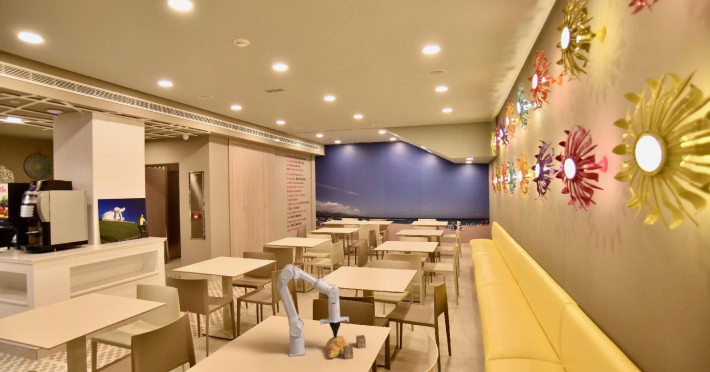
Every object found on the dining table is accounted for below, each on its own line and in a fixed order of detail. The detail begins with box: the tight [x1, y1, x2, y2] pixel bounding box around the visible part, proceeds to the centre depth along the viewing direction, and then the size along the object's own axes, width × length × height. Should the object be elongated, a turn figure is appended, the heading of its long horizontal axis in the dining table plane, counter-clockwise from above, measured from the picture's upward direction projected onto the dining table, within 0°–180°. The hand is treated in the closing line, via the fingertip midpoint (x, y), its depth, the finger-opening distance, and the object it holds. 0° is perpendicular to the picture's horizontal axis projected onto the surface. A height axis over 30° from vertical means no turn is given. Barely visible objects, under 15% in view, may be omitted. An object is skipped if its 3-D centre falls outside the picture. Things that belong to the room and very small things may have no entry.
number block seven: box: [355, 334, 366, 349], centre depth 190 cm, size 4×4×5 cm
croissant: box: [325, 335, 347, 359], centre depth 186 cm, size 21×10×8 cm, turn 169°
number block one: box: [343, 344, 354, 361], centre depth 178 cm, size 4×4×5 cm
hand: (335, 336), depth 186 cm, fingers closed
